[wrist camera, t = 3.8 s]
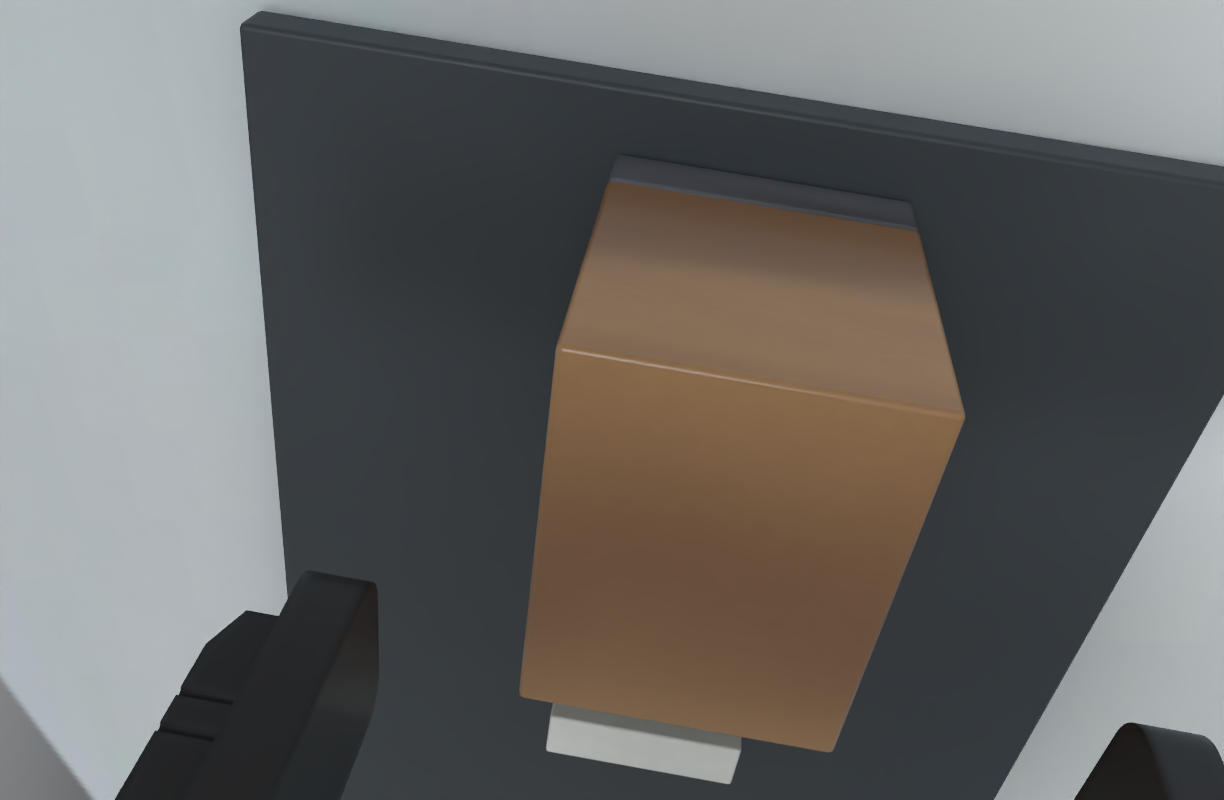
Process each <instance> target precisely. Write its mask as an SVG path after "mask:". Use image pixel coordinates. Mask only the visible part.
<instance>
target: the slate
mask: <svg viewBox="0 0 1224 800" xmlns="http://www.w3.org/2000/svg"><path fill="white" fill-rule="evenodd" d="M240 35H241V47H242V59H243V71H244V83H245V95H246V107H247V119H248V130H249V142H250V154H251V166H252V178H253V190H254V202H255V214H256V225H257V237H258V249H259V261H260V273H261V285H262V297H263V309H264V320H265V332H266V344H267V356H268V368H269V380H270V392H271V404H272V415H273V427H274V439H275V451H276V463H277V475H278V487H279V499H280V510H281V522H282V534H283V546H284V558H285V570H286V582H287V594H288V598H289V596H290V594H291V592H292V590H293V589H294V587H295V585H296V583H297V581H298V580H299V578H300V577H301V575H302V574H303V573H304V572H306V571H308V570H309V571H316V572H321V573H327V574H332V575H338V576H343V577H349V578H354V579H360V580H365V581H371V582H374V583H375V584H376V586H377V591H378V635H379V681H378V689H377V695H376V700H375V704H374V709H373V712H372V716H371V720H370V723H369V726H368V729H367V731H366V734H365V737H364V739H363V742H362V744H361V747H360V750H359V752H358V755H357V757H356V760H355V762H354V765H353V768H352V770H351V773H350V775H349V778H348V781H347V783H346V786H345V788H344V791H343V793H342V796H341V799H340V800H994V798H995V797H996V795H997V793H998V791H999V790H1000V788H1001V786H1002V784H1003V782H1004V781H1005V779H1006V777H1007V775H1008V774H1009V772H1010V770H1011V768H1012V767H1013V765H1014V763H1015V761H1016V760H1017V758H1018V756H1019V754H1020V753H1021V751H1022V749H1023V747H1024V745H1025V744H1026V742H1027V740H1028V738H1029V737H1030V735H1031V733H1032V731H1033V730H1034V728H1035V726H1036V724H1037V723H1038V721H1039V719H1040V717H1041V716H1042V714H1043V712H1044V710H1045V708H1046V707H1047V705H1048V703H1049V701H1050V700H1051V698H1052V696H1053V694H1054V693H1055V691H1056V689H1057V687H1058V686H1059V684H1060V682H1061V680H1062V679H1063V677H1064V675H1065V673H1066V671H1067V670H1068V668H1069V666H1070V664H1071V663H1072V661H1073V659H1074V657H1075V656H1076V654H1077V652H1078V650H1079V649H1080V647H1081V645H1082V643H1083V642H1084V640H1085V638H1086V636H1087V634H1088V633H1089V631H1090V629H1091V627H1092V626H1093V624H1094V622H1095V620H1096V619H1097V617H1098V615H1099V613H1100V612H1101V610H1102V608H1103V606H1104V605H1105V603H1106V601H1107V599H1108V597H1109V596H1110V594H1111V592H1112V590H1113V589H1114V587H1115V585H1116V583H1117V582H1118V580H1119V578H1120V576H1121V575H1122V573H1123V571H1124V569H1125V568H1126V566H1127V564H1128V562H1129V560H1130V559H1131V557H1132V555H1133V553H1134V552H1135V550H1136V548H1137V546H1138V545H1139V543H1140V541H1141V539H1142V538H1143V536H1144V534H1145V532H1146V531H1147V529H1148V527H1149V525H1150V524H1151V522H1152V520H1153V518H1154V516H1155V515H1156V513H1157V511H1158V509H1159V508H1160V506H1161V504H1162V502H1163V501H1164V499H1165V497H1166V495H1167V494H1168V492H1169V490H1170V488H1171V487H1172V485H1173V483H1174V481H1175V479H1176V478H1177V476H1178V474H1179V472H1180V471H1181V469H1182V467H1183V465H1184V464H1185V462H1186V460H1187V458H1188V457H1189V455H1190V453H1191V451H1192V450H1193V448H1194V446H1195V444H1196V442H1197V441H1198V439H1199V437H1200V435H1201V434H1202V432H1203V430H1204V428H1205V427H1206V425H1207V423H1208V421H1209V420H1210V418H1211V416H1212V414H1213V413H1214V411H1215V409H1216V407H1217V405H1218V404H1219V402H1220V400H1221V398H1222V397H1223V395H1224V167H1220V166H1214V165H1208V164H1202V163H1195V162H1189V161H1183V160H1177V159H1171V158H1165V157H1158V156H1152V155H1146V154H1140V153H1134V152H1128V151H1121V150H1115V149H1109V148H1103V147H1097V146H1091V145H1084V144H1078V143H1072V142H1066V141H1060V140H1054V139H1047V138H1041V137H1035V136H1029V135H1023V134H1017V133H1010V132H1004V131H998V130H992V129H986V128H980V127H973V126H967V125H961V124H955V123H949V122H943V121H936V120H930V119H924V118H918V117H912V116H906V115H899V114H893V113H887V112H881V111H875V110H869V109H862V108H856V107H850V106H844V105H838V104H832V103H825V102H819V101H813V100H807V99H801V98H795V97H788V96H782V95H776V94H770V93H764V92H758V91H751V90H745V89H739V88H733V87H727V86H721V85H714V84H708V83H702V82H696V81H690V80H684V79H677V78H671V77H665V76H659V75H653V74H647V73H641V72H634V71H628V70H622V69H616V68H610V67H604V66H597V65H591V64H585V63H579V62H573V61H567V60H560V59H554V58H548V57H542V56H536V55H530V54H523V53H517V52H511V51H505V50H499V49H493V48H486V47H480V46H474V45H468V44H462V43H456V42H449V41H443V40H437V39H431V38H425V37H419V36H412V35H406V34H400V33H394V32H388V31H382V30H375V29H369V28H363V27H357V26H351V25H345V24H338V23H332V22H326V21H320V20H314V19H308V18H301V17H295V16H289V15H283V14H277V13H271V12H264V11H261V12H257V13H256V14H255V15H253V16H252V17H250V18H249V19H247V20H246V21H245V22H243V23H242V24H241V27H240ZM617 155H626V156H632V157H638V158H644V159H650V160H657V161H663V162H669V163H675V164H681V165H687V166H693V167H699V168H705V169H711V170H717V171H723V172H729V173H735V174H742V175H748V176H754V177H760V178H766V179H772V180H778V181H784V182H790V183H796V184H802V185H808V186H814V187H821V188H827V189H833V190H839V191H845V192H851V193H857V194H863V195H869V196H875V197H881V198H887V199H893V200H900V201H906V202H909V203H910V204H912V207H913V211H914V215H915V219H916V223H917V227H918V233H919V234H920V238H921V242H922V245H923V249H924V253H925V257H926V261H927V265H928V269H929V273H930V277H931V281H932V285H933V289H934V293H935V297H936V301H937V305H938V309H939V313H940V317H941V321H942V325H943V328H944V332H945V336H946V340H947V344H948V348H949V352H950V356H951V360H952V364H953V368H954V372H955V376H956V380H957V384H958V388H959V392H960V396H961V400H962V404H963V408H964V412H965V420H964V423H963V425H962V428H961V430H960V433H959V435H958V438H957V440H956V443H955V445H954V448H953V450H952V453H951V455H950V458H949V460H948V463H947V465H946V468H945V470H944V473H943V475H942V478H941V481H940V483H939V486H938V488H937V491H936V493H935V496H934V498H933V501H932V503H931V506H930V508H929V511H928V513H927V516H926V518H925V521H924V523H923V526H922V528H921V531H920V533H919V536H918V538H917V541H916V543H915V546H914V548H913V551H912V554H911V556H910V559H909V561H908V564H907V566H906V569H905V571H904V574H903V576H902V579H901V581H900V584H899V586H898V589H897V591H896V594H895V596H894V599H893V601H892V604H891V606H890V609H889V611H888V614H887V616H886V619H885V621H884V624H883V627H882V629H881V632H880V634H879V637H878V639H877V642H876V644H875V647H874V649H873V652H872V654H871V657H870V659H869V662H868V664H867V667H866V669H865V672H864V674H863V677H862V679H861V682H860V684H859V687H858V689H857V692H856V694H855V697H854V700H853V702H852V705H851V707H850V710H849V712H848V715H847V717H846V720H845V722H844V725H843V727H842V730H841V732H840V735H839V737H838V740H837V742H836V745H835V747H834V749H833V751H832V752H828V753H827V752H822V751H816V750H810V749H805V748H799V747H794V746H788V745H783V744H777V743H772V742H766V741H761V740H755V739H750V738H744V737H742V738H741V753H740V756H739V759H738V762H737V765H736V769H735V772H734V775H733V778H732V781H731V783H730V784H725V783H719V782H714V781H708V780H703V779H697V778H692V777H686V776H681V775H675V774H670V773H664V772H659V771H653V770H648V769H642V768H637V767H631V766H626V765H620V764H615V763H609V762H604V761H598V760H593V759H587V758H582V757H576V756H571V755H565V754H560V753H554V752H549V751H547V750H546V744H547V737H548V730H549V722H550V715H551V711H552V706H553V703H550V702H544V701H539V700H533V699H528V698H523V697H522V696H521V695H520V692H519V686H520V677H521V667H522V658H523V649H524V639H525V630H526V621H527V611H528V602H529V593H530V583H531V574H532V565H533V555H534V546H535V537H536V528H537V518H538V509H539V500H540V490H541V481H542V472H543V462H544V453H545V444H546V434H547V425H548V416H549V406H550V397H551V388H552V378H553V369H554V360H555V350H556V346H557V342H558V339H559V336H560V333H561V330H562V326H563V323H564V320H565V317H566V313H567V310H568V307H569V304H570V301H571V297H572V294H573V291H574V288H575V285H576V281H577V278H578V275H579V272H580V268H581V265H582V262H583V259H584V256H585V252H586V249H587V246H588V243H589V239H590V236H591V233H592V230H593V227H594V223H595V220H596V217H597V214H598V210H599V207H600V204H601V201H602V198H603V194H604V191H605V188H606V186H607V182H608V179H609V175H610V172H611V169H612V166H613V162H614V160H615V158H616V156H617Z"/></svg>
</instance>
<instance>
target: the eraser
mask: <svg viewBox="0 0 1224 800" xmlns="http://www.w3.org/2000/svg"><path fill="white" fill-rule="evenodd" d="M964 420H965V412H964V408H963V404H962V400H961V396H960V392H959V388H958V384H957V380H956V376H955V372H954V368H953V364H952V360H951V356H950V352H949V348H948V344H947V340H946V336H945V332H944V328H943V325H942V321H941V317H940V313H939V309H938V305H937V301H936V297H935V293H934V289H933V285H932V281H931V277H930V273H929V269H928V265H927V261H926V257H925V253H924V249H923V245H922V242H921V238H920V234H919V233H918V227H917V223H916V219H915V215H914V211H913V207H912V204H910V203H909V202H906V201H900V200H893V199H887V198H881V197H875V196H869V195H863V194H857V193H851V192H845V191H839V190H833V189H827V188H821V187H814V186H808V185H802V184H796V183H790V182H784V181H778V180H772V179H766V178H760V177H754V176H748V175H742V174H735V173H729V172H723V171H717V170H711V169H705V168H699V167H693V166H687V165H681V164H675V163H669V162H663V161H657V160H650V159H644V158H638V157H632V156H626V155H617V156H616V158H615V160H614V162H613V166H612V169H611V172H610V175H609V179H608V182H607V186H606V188H605V191H604V194H603V198H602V201H601V204H600V207H599V210H598V214H597V217H596V220H595V223H594V227H593V230H592V233H591V236H590V239H589V243H588V246H587V249H586V252H585V256H584V259H583V262H582V265H581V268H580V272H579V275H578V278H577V281H576V285H575V288H574V291H573V294H572V297H571V301H570V304H569V307H568V310H567V313H566V317H565V320H564V323H563V326H562V330H561V333H560V336H559V339H558V342H557V346H556V350H555V360H554V369H553V378H552V388H551V397H550V406H549V416H548V425H547V434H546V444H545V453H544V462H543V472H542V481H541V490H540V500H539V509H538V518H537V528H536V537H535V546H534V555H533V565H532V574H531V583H530V593H529V602H528V611H527V621H526V630H525V639H524V649H523V658H522V667H521V677H520V686H519V692H520V695H521V696H522V697H523V698H528V699H533V700H539V701H544V702H550V703H556V704H561V705H567V706H572V707H578V708H583V709H589V710H594V711H600V712H605V713H611V714H617V715H622V716H628V717H633V718H639V719H644V720H650V721H655V722H661V723H666V724H672V725H677V726H683V727H689V728H694V729H700V730H705V731H711V732H716V733H722V734H727V735H733V736H738V737H744V738H750V739H755V740H761V741H766V742H772V743H777V744H783V745H788V746H794V747H799V748H805V749H810V750H816V751H822V752H827V753H828V752H832V751H833V749H834V747H835V745H836V742H837V740H838V737H839V735H840V732H841V730H842V727H843V725H844V722H845V720H846V717H847V715H848V712H849V710H850V707H851V705H852V702H853V700H854V697H855V694H856V692H857V689H858V687H859V684H860V682H861V679H862V677H863V674H864V672H865V669H866V667H867V664H868V662H869V659H870V657H871V654H872V652H873V649H874V647H875V644H876V642H877V639H878V637H879V634H880V632H881V629H882V627H883V624H884V621H885V619H886V616H887V614H888V611H889V609H890V606H891V604H892V601H893V599H894V596H895V594H896V591H897V589H898V586H899V584H900V581H901V579H902V576H903V574H904V571H905V569H906V566H907V564H908V561H909V559H910V556H911V554H912V551H913V548H914V546H915V543H916V541H917V538H918V536H919V533H920V531H921V528H922V526H923V523H924V521H925V518H926V516H927V513H928V511H929V508H930V506H931V503H932V501H933V498H934V496H935V493H936V491H937V488H938V486H939V483H940V481H941V478H942V475H943V473H944V470H945V468H946V465H947V463H948V460H949V458H950V455H951V453H952V450H953V448H954V445H955V443H956V440H957V438H958V435H959V433H960V430H961V428H962V425H963V423H964Z"/></svg>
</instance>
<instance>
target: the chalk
mask: <svg viewBox="0 0 1224 800" xmlns="http://www.w3.org/2000/svg"><path fill="white" fill-rule="evenodd" d="M741 738H742V737H738V736H733V735H727V734H722V733H716V732H711V731H705V730H700V729H694V728H689V727H683V726H677V725H672V724H666V723H661V722H655V721H650V720H644V719H639V718H633V717H628V716H622V715H617V714H611V713H605V712H600V711H594V710H589V709H583V708H578V707H572V706H567V705H561V704H556V703H553V706H552V711H551V715H550V722H549V730H548V737H547V744H546V750H547V751H549V752H554V753H560V754H565V755H571V756H576V757H582V758H587V759H593V760H598V761H604V762H609V763H615V764H620V765H626V766H631V767H637V768H642V769H648V770H653V771H659V772H664V773H670V774H675V775H681V776H686V777H692V778H697V779H703V780H708V781H714V782H719V783H725V784H730V783H731V781H732V778H733V775H734V772H735V769H736V765H737V762H738V759H739V756H740V753H741Z"/></svg>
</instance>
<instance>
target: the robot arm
mask: <svg viewBox="0 0 1224 800" xmlns="http://www.w3.org/2000/svg"><path fill="white" fill-rule="evenodd" d="M378 681H379V635H378V591H377V586H376V584H375V583H374V582H371V581H365V580H360V579H354V578H349V577H343V576H338V575H332V574H327V573H321V572H316V571H309V570H308V571H306V572H304V573H303V574H302V575H301V577H300V578H299V580H298V581H297V583H296V585H295V587H294V589H293V590H292V592H291V594H290V596H289V598H288V600H287V602H286V604H285V606H284V608H283V609H282V611H281V613H280V615H279V616H274V615H269V614H263V613H258V612H253V611H247V610H246V611H245V612H244V613H243V614H242V615H240V616H239V617H238V618H237V619H236V620H234V621H233V622H232V623H231V624H229V625H228V626H227V627H226V628H225V629H223V630H222V631H221V632H220V633H219V634H217V635H216V636H215V637H214V638H212V639H211V640H210V641H209V642H208V643H206V645H205V646H204V648H203V650H202V651H201V653H200V655H199V657H198V658H197V660H196V662H195V663H194V665H193V667H192V669H191V670H190V672H189V674H188V675H187V677H186V679H185V681H184V682H183V684H182V686H181V691H180V694H179V695H176V696H175V698H174V699H173V701H172V703H171V704H170V706H169V708H168V710H167V711H166V713H165V715H164V716H163V718H162V720H161V722H160V728H159V730H158V731H155V732H154V734H153V735H152V737H151V739H150V740H149V742H148V744H147V745H146V747H145V749H144V751H143V752H142V754H141V756H140V757H139V759H138V761H137V763H136V764H135V766H134V768H133V769H132V771H131V773H130V775H129V776H128V778H127V780H126V781H125V783H124V785H123V786H122V788H121V790H120V792H119V793H118V795H117V797H116V798H115V800H340V799H341V796H342V793H343V791H344V788H345V786H346V783H347V781H348V778H349V775H350V773H351V770H352V768H353V765H354V762H355V760H356V757H357V755H358V752H359V750H360V747H361V744H362V742H363V739H364V737H365V734H366V731H367V729H368V726H369V723H370V720H371V716H372V712H373V709H374V704H375V700H376V695H377V689H378ZM1074 800H1224V764H1223V762H1222V759H1221V756H1220V754H1219V752H1218V750H1217V748H1216V747H1215V745H1214V744H1213V743H1212V742H1211V741H1210V740H1209V739H1208V738H1207V737H1205V736H1202V735H1198V734H1192V733H1187V732H1181V731H1176V730H1170V729H1165V728H1159V727H1154V726H1148V725H1143V724H1137V723H1126V724H1124V725H1123V726H1122V727H1121V728H1120V729H1119V730H1118V731H1117V733H1116V734H1115V736H1114V737H1113V739H1112V740H1111V742H1110V744H1109V745H1108V747H1107V748H1106V750H1105V751H1104V753H1103V755H1102V756H1101V758H1100V759H1099V761H1098V763H1097V764H1096V766H1095V767H1094V769H1093V770H1092V772H1091V774H1090V775H1089V777H1088V778H1087V780H1086V782H1085V783H1084V785H1083V786H1082V788H1081V789H1080V791H1079V793H1078V794H1077V796H1076V797H1075V799H1074Z"/></svg>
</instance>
